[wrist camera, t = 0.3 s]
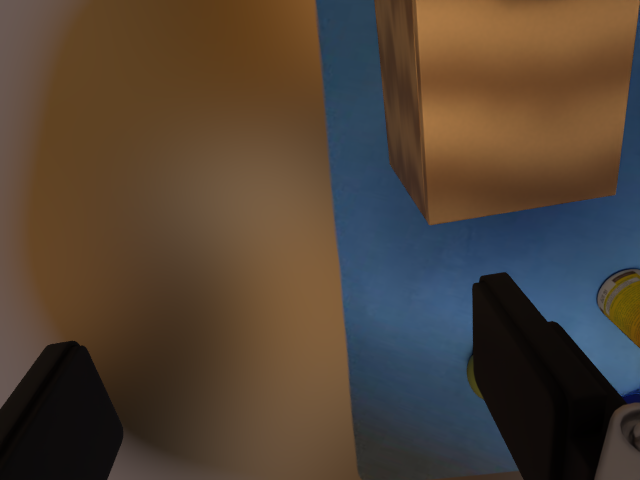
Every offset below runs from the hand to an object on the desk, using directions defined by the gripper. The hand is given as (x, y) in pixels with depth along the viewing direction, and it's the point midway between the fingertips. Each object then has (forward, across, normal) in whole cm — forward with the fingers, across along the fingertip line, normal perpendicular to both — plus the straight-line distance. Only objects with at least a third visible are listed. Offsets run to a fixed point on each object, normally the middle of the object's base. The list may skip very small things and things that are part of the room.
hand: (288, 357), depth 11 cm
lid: (+17, -13, -3) cm, 22 cm away
